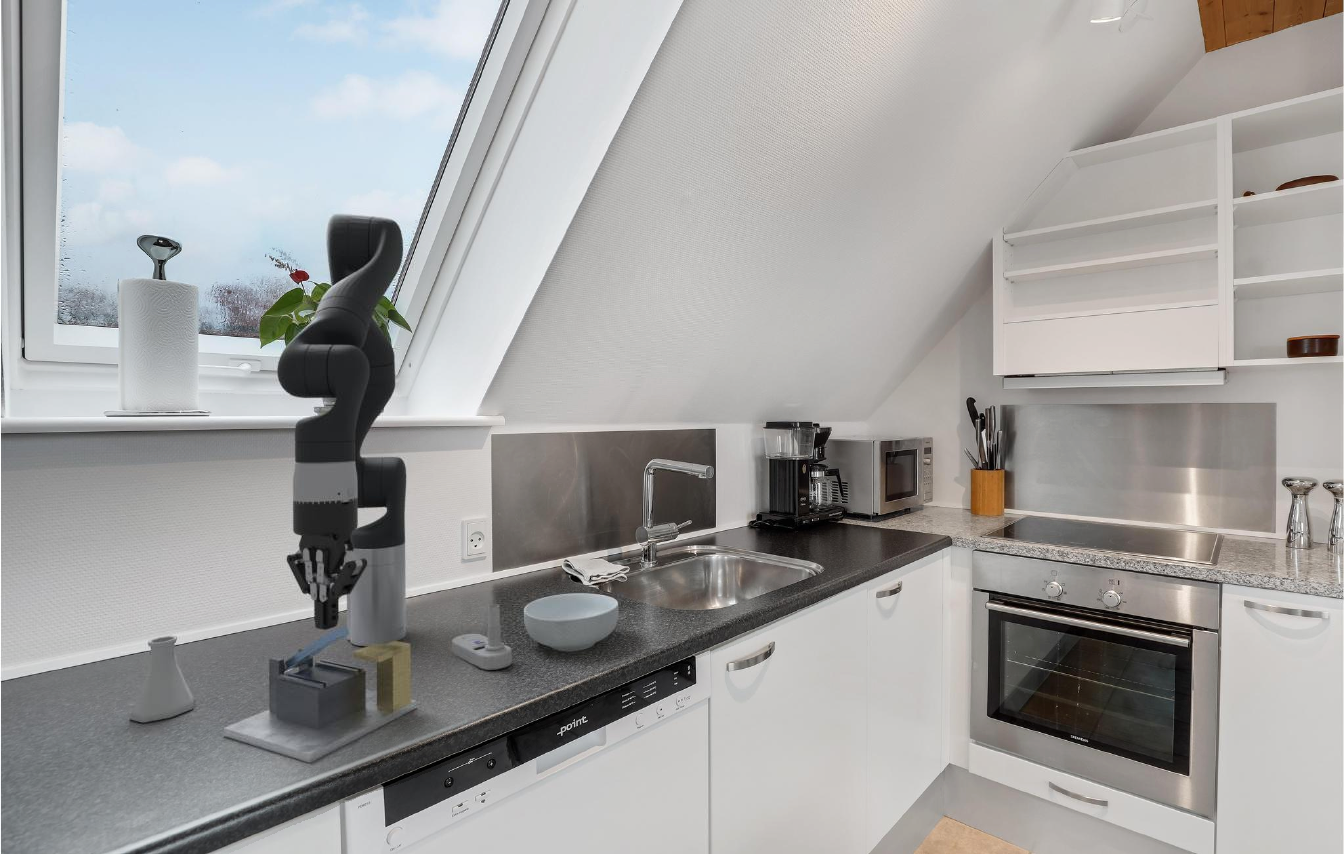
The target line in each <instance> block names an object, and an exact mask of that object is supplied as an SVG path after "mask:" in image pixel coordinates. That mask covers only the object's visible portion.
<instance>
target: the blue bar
mask: <svg viewBox="0 0 1344 854" xmlns="http://www.w3.org/2000/svg"><path fill="white" fill-rule="evenodd" d="M348 634H349V631H348V629H347V626H344V627H342V628H338V629H335V630H333V631H330V632H328V633H326V634H325V635H324V636H322V637H320V638H318V640H316V641H314V642H313V643H311V644H310V645H308V646H307V647H305V649H304V650H302V651H300V652H299V651H298V652H297V653H296V654H294V655H292V656H291V657H290V658H288V659H286V660H284V673H287V672H290V671H291V670H294V669H296V668H299V667H300V666H303V665H304V662H306V661H307V660H309V659H311V658H312V657H313V658H314V657H315V656H317V655H318V654H320V653H322V652H323V651H325V650H326V649H328V648H329V647H331V646H333V645H334V644H336V643H337V642H339V641H341V640H342V639H343V638H345V637H347V635H348Z"/></svg>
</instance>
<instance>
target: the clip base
mask: <svg viewBox="0 0 1344 854" xmlns="http://www.w3.org/2000/svg"><path fill="white" fill-rule="evenodd" d="M305 648H306V647H299V648H298V653H299V652H300V651H302V650H304V649H305ZM284 661H285V659H284V658H282V657H281V658H280V657H277V656H273V657H270V658H268V671H269V672H268V674H269V675H268V680H269V681H268V685H269V687H268V688H269V689H268V690H269V691H268V694H269V695H268V696H269V698H268V699H269V700H268V702H269V704H268V706H269V709H267V710H265V711H261V712H260V713H257V714H255V715H252V716H249V717H247V718H245V719H243V720H240V721H238V722H236V723H233V724H230V725H228V726H225V727H223V737H226V738H230V739H233V740H236V741H239V742H241V743H244V744H249V745H251V746H254V747H258V748H260V749H263V750H267V751H271V752H274V753H277V754H280V755H284V756H286V757H290V758H292V759H293V758H294V759H297V760H299V761H302V762H306V763H309V764H310V763H313V762H315V761H316V760H319V759H320V758H322V757H325V756H326V755H328V754H330V753H332V752H334V751H336V750H338V749H340V748H342V747H344V746H345V745H347V744H350V743H351V742H353V741H355V740H357V739H359V738H361V737H364V736H365V735H368V734H369V733H371V732H373V731H375V730H377V729H378V728H380V727H382V726H385V725H386V724H388V723H390V722H392V721H394V720H396V719H398V718H400V717H402V716H403V715H405V714H407V713H409V712H411V711H413V710H415V709H417V699H415V700H414V699H411V704H409V705H407V706H405V707H403V708H401V709H399V710H397V711H395V712H389V711H385V710H381V709H377V690H376V691H375V690H372V689H368V688H367V686H366V680H367V679H366V670H365V669H364V667H361V666H356V665H352V664H347V663H341V662H337V661H334V660H333V661H332V660H328V659H323V658H322V659H320V660H319V661H318V660H317V661H315V662H314V657H312V658H311V659H309V660H307V661H306V662H304V665H303V666H300V667H298V672H297V671H296V672H295V673H294V672H293V673H292V672H289V671H286V672H284Z"/></svg>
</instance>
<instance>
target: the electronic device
mask: <svg viewBox="0 0 1344 854" xmlns="http://www.w3.org/2000/svg"><path fill="white" fill-rule="evenodd" d="M500 616H501V615H500V605H499V604H491V605H488V606H487V621H488V625H487V636H485V635H483V634H480V633H465V634H462V635H458V636H455V637H454V638H453V639H451V654H452V655H455V656H456V657H458V658H460V659H462V660H464V661H466V662H468V663H470V664H471V665H473V666H476V667H477V668H480V669H482V670H488V671H491V670H499V669H503V668H506V667H509V666H510V665H511V664H512V663H513V650H512V648H511V647H510V646H508V645H505V643H504V642H502V637H501V636H502V634H501V633H502V629H501V623H500V621H501V620H500Z"/></svg>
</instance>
